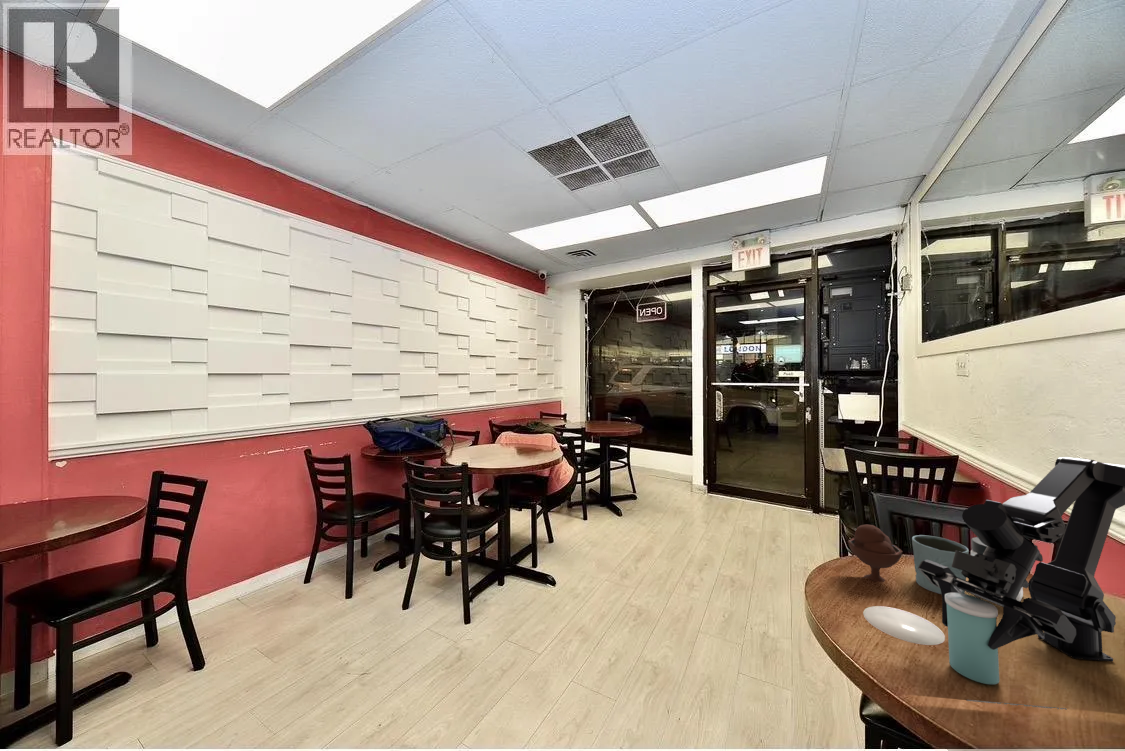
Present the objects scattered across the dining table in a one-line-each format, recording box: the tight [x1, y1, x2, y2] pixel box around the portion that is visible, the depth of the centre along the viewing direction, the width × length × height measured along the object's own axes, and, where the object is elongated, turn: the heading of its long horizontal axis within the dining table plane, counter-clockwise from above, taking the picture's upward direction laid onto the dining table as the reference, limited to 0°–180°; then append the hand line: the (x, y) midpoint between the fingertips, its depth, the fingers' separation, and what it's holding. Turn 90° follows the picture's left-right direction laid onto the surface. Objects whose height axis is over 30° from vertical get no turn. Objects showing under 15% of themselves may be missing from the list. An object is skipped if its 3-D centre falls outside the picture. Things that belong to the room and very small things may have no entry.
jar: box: [970, 536, 1024, 602], centre depth 94 cm, size 9×8×12 cm
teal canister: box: [945, 593, 1000, 685], centre depth 67 cm, size 6×6×12 cm
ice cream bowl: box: [847, 524, 903, 583], centre depth 100 cm, size 11×11×15 cm
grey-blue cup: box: [911, 534, 970, 595], centre depth 95 cm, size 10×10×12 cm
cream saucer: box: [862, 605, 946, 646], centre depth 81 cm, size 13×13×1 cm
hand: (966, 635), depth 67 cm, fingers closed on teal canister, 6 cm apart
